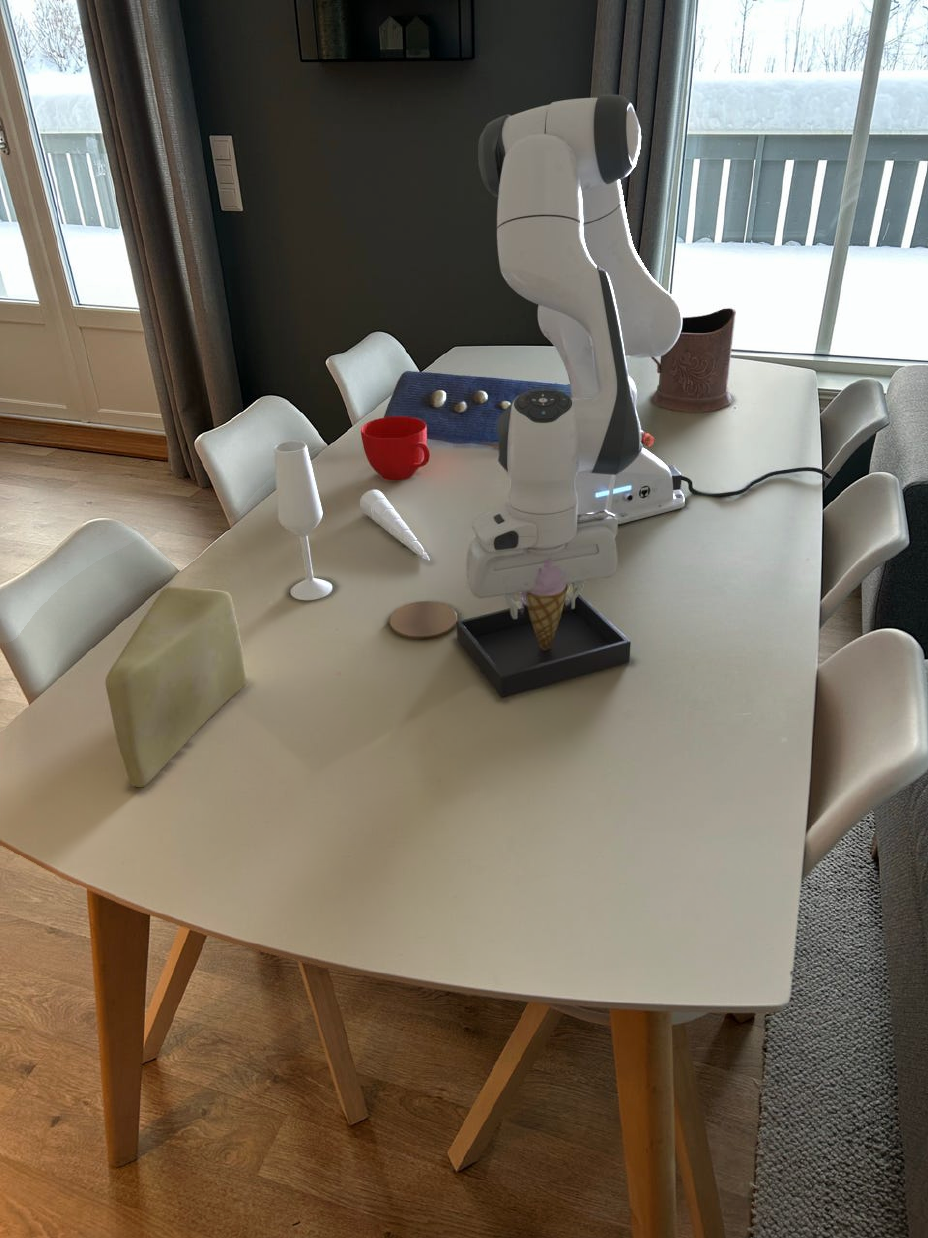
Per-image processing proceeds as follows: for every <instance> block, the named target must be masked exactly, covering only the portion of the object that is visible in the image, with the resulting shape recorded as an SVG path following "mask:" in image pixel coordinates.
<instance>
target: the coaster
mask: <svg viewBox="0 0 928 1238" xmlns="http://www.w3.org/2000/svg"><path fill="white" fill-rule="evenodd" d="M457 621H458V614H457V612H456V611H455V609H454V608H453V607H451V606H450V605H447V604H445V603H443V602H438V601H431V600H430V601H415V602H412V603H408V604H405V605H403V606H400V607H399V608H397V609H395V611H393V613H391V616H390V617H389V626H390V628H391V630H392V631H393V632H394V633H395V634H397V635H398V636H400V637H403V638H406V639H411V640H431V639H436V638H438V637H441V636H444V635H446V634H448V633H449V632H451V631H452V630H454V628H455V627H456V626H457V623H456V622H457Z"/></svg>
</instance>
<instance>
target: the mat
mask: <svg viewBox="0 0 928 1238" xmlns="http://www.w3.org/2000/svg"><path fill="white" fill-rule="evenodd" d="M534 389H554V390H558V391H561V392H563V393H565V394H567V395H568V396H569V397H570V398H571V387H570V383H558V382H546V381H536V380H523V379H522V380H521V379H512V378H502V377H491V376H476V375H465V374H463V375H462V374H461V375H460V374H451V373H441V372H430V371H429V372H428V371H414V370H413V371H412V370H406V371H404V372H403V373H401V374H400V376H399V378H398V380H397V382H396V385H395V387H394V389H393V391H392V395H391V397H390V399H389V402H388V404H387V407H386V410H385V412H384V415H383V418H385V417H394V416H405V417H413V418H417V419H420V420H422V421H424V422H425V424H426V427H427V440H431V441H440V442H446V443H451V444H456V445H457V444H459V445H465V444H467V445H468V444H474V445H481V446H486V447H493V448H498V449H499V439H498V431H497V422H498V418H499V416H500V415H501V414H502V413H503V412H504V411H505V410H506V408H507V407H508V406H509V405H511V404H512V403H513V401H514V400H515V398H516V397H518V396H519V395H520V394H522V393H524V392H526V391H529V390H534Z"/></svg>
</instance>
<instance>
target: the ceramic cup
mask: <svg viewBox="0 0 928 1238" xmlns="http://www.w3.org/2000/svg"><path fill="white" fill-rule="evenodd" d="M360 436H361V442H362V446H363V447H362V448H363V451H364V454H365V457H366V459H367V461H368V464H369V465H370V467H371V468H372V469H373V470H374V471H375V472H376V473H377V474H378V475H379V476H380V477H381V478H382V479H383V480H385V481H393V482H399V481H406V480H408V479H410V478H412V477H413V476H414V475H415V473H416V472H417V471H418V470H419V468H422V467H424V466H426V465H427V464H428V463H429V461H430V458H431V452H430V448H429V446H428V445H427V441H428V439H427V427H426V424H425V422H424V421H422V420H420V419H417V418H413V417H405V416H394V417H385V418H384V417H380V418H376V419H373V420H370V421H368V422H366V423H365V424H364V425H362V426H361V428H360Z"/></svg>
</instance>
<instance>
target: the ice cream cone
mask: <svg viewBox="0 0 928 1238" xmlns="http://www.w3.org/2000/svg"><path fill="white" fill-rule="evenodd" d="M540 563H544V567H542V568H540V570H539V573H538V576H537V577H536V579H535V587H533V588H532V590H529V591H524V592H519V593H520V595H521V600H522V602H523V603H524V604H526V605H527V608H528V612H529V616H530V619H531V622H532V625H533V628H534V631H535V634H536V637H537V640H538V643H539V646H540V649H542V650H548V649H550V646H551V643H552V640H553V638H554V635H555V632H556V629H557V626H558V623H559V620H560V617H561V613H562V610H563V606H564V602H565V598H566V593H567V590H568V589H569V584H566V582H564V581H562V580H561V578H562V577H563V575H564V572H560V571H559V567H558V566H553V567H550V566H551V565H552V563H553V558H549V559H548V560H546V561H544V562H540ZM548 567H550V568H548ZM525 585H528V584H525Z"/></svg>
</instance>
